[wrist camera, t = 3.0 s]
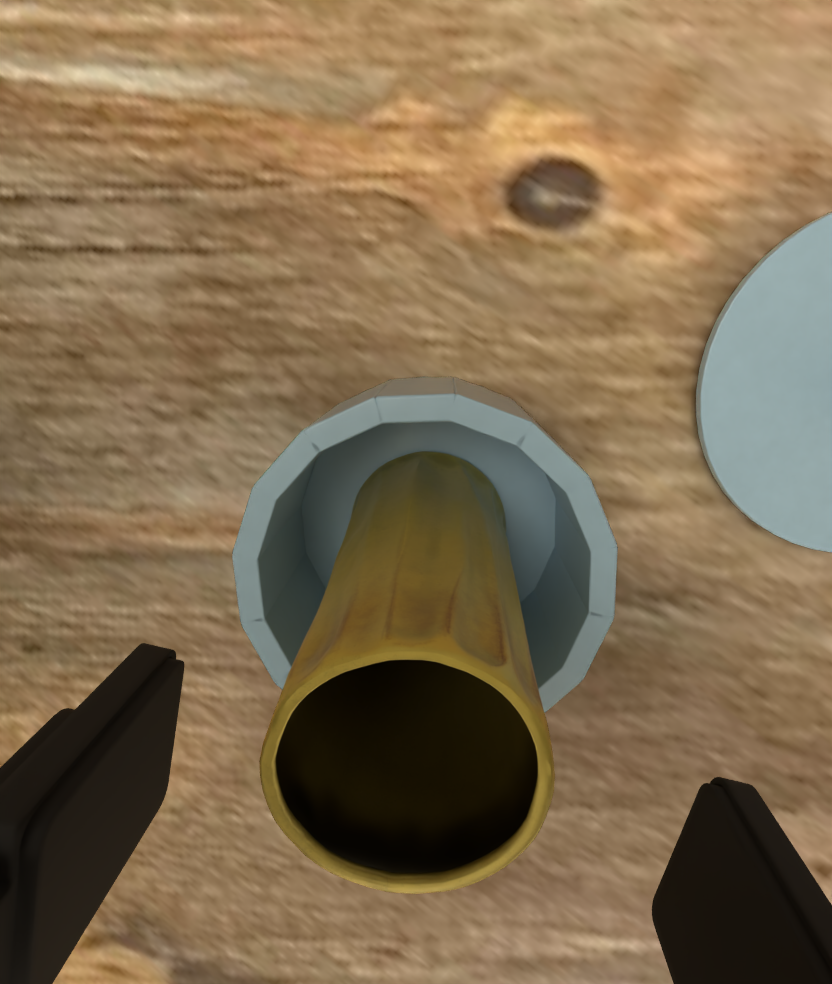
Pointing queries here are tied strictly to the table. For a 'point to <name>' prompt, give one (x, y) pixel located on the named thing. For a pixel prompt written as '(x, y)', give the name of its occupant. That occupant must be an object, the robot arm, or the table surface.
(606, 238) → the table surface
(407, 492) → the vase
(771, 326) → the lid
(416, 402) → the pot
